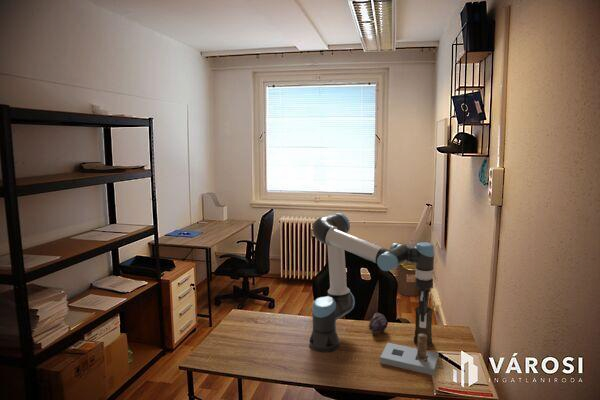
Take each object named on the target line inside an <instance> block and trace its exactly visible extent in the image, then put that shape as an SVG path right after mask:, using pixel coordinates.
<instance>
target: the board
mask: <svg viewBox="0 0 600 400" xmlns="http://www.w3.org/2000/svg"><path fill="white" fill-rule="evenodd" d="M379 358H380V359H379V361H380V362H379V364H382V365H387V366H392V367H396V368H401V369H404V370H408V371H413V372H417V373H421V374H426V375H430V376H435V373H436V369H437V366H436V365H438V362H437V361H439V352H434V351H430V350H427V352H426V362H425V361H420V360H417V348H415V347H411V346H407V345H401V344H396V343H390V342H387V343H386V345H385V347H384V349H383V351H382V353H381V354H380V357H379Z"/></svg>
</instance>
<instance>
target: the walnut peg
mask: <svg viewBox="0 0 600 400" xmlns="http://www.w3.org/2000/svg"><path fill="white" fill-rule="evenodd" d="M416 349H417V360H420V361H425V362H426V352H427V351H428V350H427V349H428V347H427V335H425V334H418V345H417V348H416Z"/></svg>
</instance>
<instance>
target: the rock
mask: <svg viewBox="0 0 600 400" xmlns="http://www.w3.org/2000/svg"><path fill="white" fill-rule="evenodd" d="M388 324H389V321H388V320H387V318H386V316H385V315H384V314H383V313H380V312H375V313H374V314H373V316H372V318H371V319H370V320H369V324H368V327H369V328H370V329H371V330H372V331H371V333H372V335H374V336H379V335H381V334H382V333H384V331H385V330H386V329H387V327H388Z"/></svg>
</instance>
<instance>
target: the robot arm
mask: <svg viewBox="0 0 600 400" xmlns="http://www.w3.org/2000/svg"><path fill="white" fill-rule="evenodd" d="M350 228H351V223H350V220H349V218H348V217H347V216H346V215H345V214H344V213H341V212H335V213H334V212H333V213H330V214H328V215H326V216H321V217H319V218H317V219H316V220H315V221H314V222H313V224H312V230H311V231H312V234H313V236H314V238H315V239H316V240H317V241H319V242H320V243H322V244H324V245H326V246H327V257H328V258H327V259H328V260H327V261H328V273H329V274H328V275H329V289H328V290H327V296H320V297H317V298H316V299H315V300H314V301H313V302H312V306H311V307H312V308H311V314H312V315H311V316H312V318H311V319H312V330H311V334H310V337H309V347H310V348H311V349H313V350H314V351H316V352H320V353H328V352H329V353H330V352H333V351H336V350H337V349H338V348H340V338H339V334H338V332H337V321H338V320H339V319H341V318H342V317H344V316H345V315H347V314H349V313H350V312H351V311H352V310H353V309H354V308H355V304H356V301H355V296H354V295H353V293H352V292H351V289H350V288H349V287H347V272H346V271H347V270H346V255H345V253H346V252H349V253H352V254H354V255H356V256H358V257H360V258H363V259H364V260H367V261H371V262H372V263H375V264H377V266H378V267H379V269H380V270H381V271H384V272H389V271H392V270H394V269H396V268H397V267H399V266H400V265H402V264H404V263H405V262H407V263H411V264H415V281H414V284H415V286H416V288H419V289H418V297H417V298H418V307H419V312H418V314H419V315H420V322H419V327H421V328H426V315H427V313H428V311H427V309H428V308H427V307H428V303H429V293H430V289H431V288H433V287H434V274H435V273H436V272H435V271H434V263H435V247H434V244H432V243H430V242H426V241H424V242H423V241H421V242H417V243H416V245H410V244H405V243H402V242H400V243H399V242H394V243H392V244H391V246H390V247H389V249H388V248H385V247H382V246H379V245H377V244H375V243H373V242H369V241H367V240H365V239H362V238H359V237H357V236H355V235H352V234H349V233H348V232H350ZM345 251H346V252H345Z"/></svg>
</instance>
